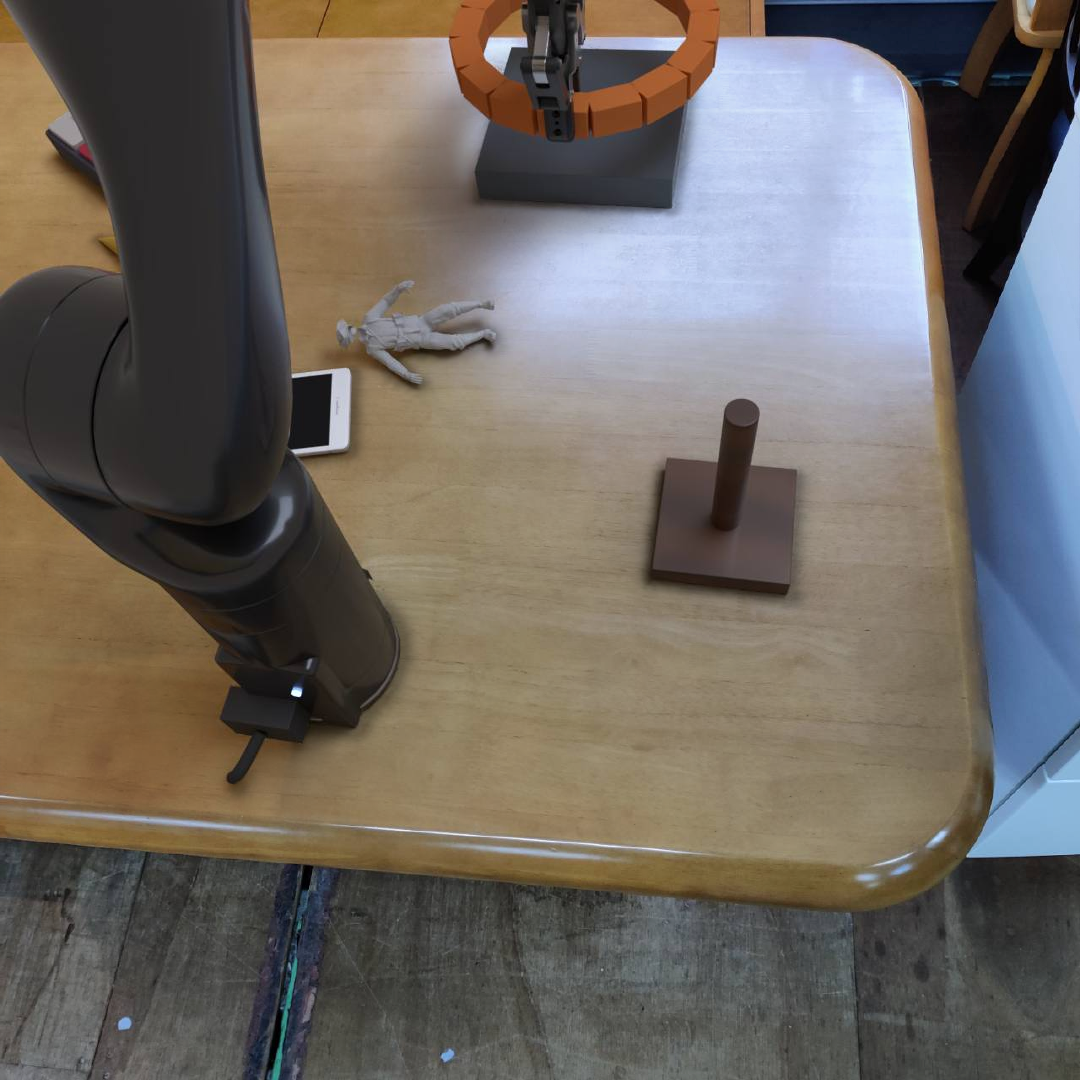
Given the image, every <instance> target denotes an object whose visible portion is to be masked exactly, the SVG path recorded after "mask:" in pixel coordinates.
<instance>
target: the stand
mask: <svg viewBox="0 0 1080 1080" xmlns="http://www.w3.org/2000/svg"><path fill="white" fill-rule="evenodd" d="M675 51H676V50H667V49H666V50H663V49H662V50H661V49H660V50H659V49H624V48H623V49H617V48H581V56H582V57H583V60H582V63H581V67H580V68H576V69H579V75H580V91H581V92H592V91H596V90H601V89H605V88H609V87H614V86H618V85H622V84H627V83H631V82H632V81H634V80H636V79H638V78H640V77H641V76H643V75H645V74H647V73H649V72H651V71H652V70H654V69H656V68H658V67H660V66H661V65H663V64H665V63H666V62H667V61H668V60H669V59H670V57H671V56H672V55H673V54H674V53H675ZM522 56H528V47H527V46H526V47H525V46H522V47H521V46H511V47H510V50H509V54H508V57H507V60H506V64H505V67H504V71H503V73H502V74H503V75H504V76H505V77H506V78H508V79H509V80H513V81H516V82H519V83H522V84H525V82H524V79H523V76H522V73H521V70H520V62H521V60H522ZM688 104H689V100H687V99H686V104H684V105H683V106H681V107H679V108H677V109H676V110H674V111H672V112H670V113H668V114H667V115H665V116H663V117H661V118H660V119H658V120H656V121H654V122H653V123H651V124H649V125H646V124H645V123H644V122H642V127H641V128H637V129H632V130H628V131H624V132H619V133H615V134H611V135H607V136H602V137H598V138H594V137H593V135H592V132H591V130H590V133H589V137H588V139H574V140H573V141H572V142H551V141H549V140H548V139H547V138H546V137H540V136H539V132H538V133H537V134H536V135H535V136H531V135H528V134H525V133H522V132H519V131H517V130H514V129H511V128H508V127H505V126H502V125H499V124H496V123H494V122H493V119H491V120H488V124H487V127H486V131H485V133H484V137H483V140H482V143H481V144H482V145H481V147H480V151H479V154H478V158H477V161H476V164H475V168H474V176H475V181H476V187H477V191H478V192H477V193H478V198H479V199H486V200H502V201H503V200H504V201H522V202H523V201H525V202H526V201H527V202H543V203H544V202H545V203H563V204H564V203H565V204H586V205H605V206H607V205H608V206H625V207H646V208H648V207H649V208H667V209H672V208H673V203H674V195H675V189H676V183H677V182H676V181H677V177H678V170H679V164H680V163H679V162H680V157H681V151H682V144H683V138H684V131H685V125H686V118H687V113H688V112H687V111H688Z"/></svg>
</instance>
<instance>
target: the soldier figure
mask: <svg viewBox="0 0 1080 1080" xmlns="http://www.w3.org/2000/svg"><path fill="white" fill-rule="evenodd" d="M414 284H415V281H414V280H404V281H402V282H400V283H399V284H397V285H395V286H394V287H393V288H392V289H391V290H389V291H388V292H387V293H386V294H385V295H383V297H381V299H380V300H379V301H378V302H377V303H376V304H375V305H374V306H373V307H371V308H370V309H369V310H368V311H367V312H366V313H364V315H363V318H362V324H361V325H360V326H358V327H357V325H355V326H354V327H353V324H347V323H346V322H345V319H344V318H341V319H340V320H339V321H338V322H337V324H336V328H335V329H336V331H335V332H336V334H335V337H336V340H337V341H338V346H339V348H340V349H345V350H347V349H348V347H349V345H351V344H353V343H354V340H355V335H356V333H357V340H358V342H360V343H362V344H364V348H365V350H366V353H367V354H368V355H370V356H371V357H373V358H374V359H376V360H377V361H379V363H380V364H382V365H384V366H386V367H387V368H388V369H389V370H390V371H391V372H393V373H395V374H396V375H397V376H400V377H401V378H403V379H404V380H408V381H409V382H411V383H414V384H419V385H421V384H423V383H422V382H423V378H422V374H419V373H412V372H410V371H409V369H407V368H406V367H405V366H404V365H402V363H401V362H400V361H399V360H397V359H396V358H395V357H393V356H392V355H391V354H390V353H389V352H388V351H387V350H388V349H389V350H390V349H392V350H393V352H403V353H404V351H405V350H409V349H414V350H420V349H426V350H436V351H437V350H438V351H440V350H441V351H442V350H445V349H447V350H451V351H456V350H458V349H459V350H463V349H465V347H466V346H468V345H470V344H472V343H474V342H478V341H480V340H482V339H485V340H488V341H490V342H492V343H495V342H496V339H497V333H496V331H492V329H491V328H485V329H483V330H481V329H480V330H478V331H476V332H469V333H462V334H461V333H457V334H456V333H453V334H449V333H442V332H438V331H435V330H436V329H437V327H439V326H441V325H443V324H445V323H446V322H448V321H449V320H454V319H455V318H457V316H460V315H462V314H465V313H469V312H472V311H473V310H475V309H484V310H489V311H494V310H495V300H494V299H482V300H466V301H465V300H463V301H451V302H450V303H441V304H440V305H438V306H436V307H435V308H433V309H431V310H429V311H428V312H426V313H423V314H421V315H419V316H418V314H411V315H403V312H394V313H391V317H386V316H385V317H384V315H385V314H386V313H387V311H388V310H389V308H391V307H392V306H394V305H395V304H396V302H397V301H398V299H399V298H400V296H401V294H402V293H403V292H404V293H406V294H411V293H412V292H411V291H410V290H407V289H408V288H413V286H414ZM356 327H357V328H356Z"/></svg>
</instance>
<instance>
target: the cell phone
mask: <svg viewBox="0 0 1080 1080" xmlns="http://www.w3.org/2000/svg"><path fill="white" fill-rule="evenodd" d="M352 388H353V375H352V373H351V371H350V368H348V367H341V368H331V369H322V370H315V371H306V372H298V373H292V396H293V401H292V415H291V425H290V435H289V439H288V444H287V447H288V448H289V449H290V450H291V451H292V452H294V453H295V455H296V456H297V457H298V458H300V457H301V458H302V457H309V456H317V455H326V454H336V453H337V454H338V453H345V452H347V451H348V450H349V449H350V445H351V422H352V421H351V417H352Z"/></svg>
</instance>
